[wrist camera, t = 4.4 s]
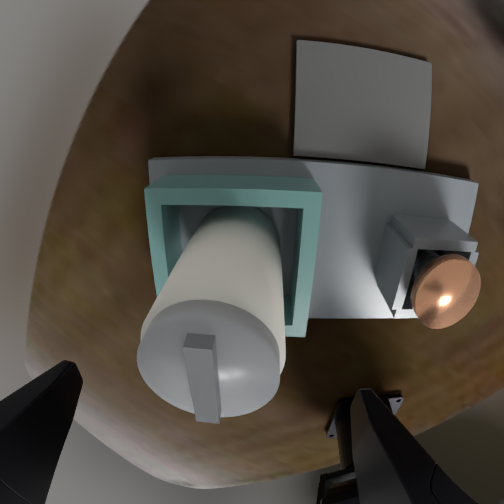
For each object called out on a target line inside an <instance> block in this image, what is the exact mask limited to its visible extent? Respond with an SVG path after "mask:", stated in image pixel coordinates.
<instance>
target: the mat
mask: <svg viewBox="0 0 504 504" xmlns="http://www.w3.org/2000/svg"><path fill="white" fill-rule="evenodd" d="M431 91H432V63H429V62H425V61H422V60H418V59H414V58H410V57H406V56H402V55H398V54H393V53H388V52H384V51H379V50H373V49H368V48H362V47H356V46H350V45H343V44H335V43H327V42H317V41H306V40H297V41H296V88H295V121H294V146H293V155H294V156H308V157H323V158H335V159H346V160H357V161H366V162H375V163H384V164H392V165H399V166H406V167H413V168H420V169H425V166H426V158H427V149H428V139H429V127H430V113H431Z"/></svg>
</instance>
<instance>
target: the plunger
mask: <svg viewBox="0 0 504 504" xmlns="http://www.w3.org/2000/svg"><path fill="white" fill-rule="evenodd" d="M411 278H412V279H413V281H414V284H413V287H412V291H411V297H410V298H411V306H412V309H413V310H414V312H415V314H416V316H417V317H418V319H419V321H420V322H421V323H422V324H423V325H424V326H426V327H429V328H433V329H440V328H445V327H448V326H451V325H453V324H455V323H456V322H458V321H459V320H461V319H462V318H463V317H464V316H465V315H466V314H467V313H468V312H469V311H470V310H471V308H472V307H473V305H474V304H475V302H476V300H477V298H478V295H479V292H480V287H481V278H480V274H479V272H478V270H477V268H476V267H475V266H474V265H473V264H472V263H471V262H470V261H469V260H468V259H467V258H465V257H464V256H462V255H459V254H446V255H443V256H441V255H440V254H439V253H438V252H437V251H436V250H427V249H418V251H417V255H416V259H415V263H414V267H413V271H412V275H411Z"/></svg>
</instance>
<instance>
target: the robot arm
mask: <svg viewBox="0 0 504 504" xmlns="http://www.w3.org/2000/svg"><path fill="white" fill-rule="evenodd" d="M82 385H83V379H82V376H81V374H80V372H79V370H78V368H77V365H76V364H75V363H74V362H71V361H67V360H64V361H62V362H60V363H59V364H57V365H55V366H54V367H52V368H51V369H49V370H48V371H46V372H44V373H43V374H41V375H40V376H38V377H37V378H35V379H34V380H32V381H30V382H29V383H28V384H26V385H24V386H23V387H21V388H20V389H18V390H17V391H15V392H13V393H12V394H10V395H9V396H7V397H6V398H4V399H3V400H1V401H0V504H45V501H46V498H47V495H48V492H49V488H50V485H51V482H52V478H53V475H54V472H55V469H56V466H57V463H58V460H59V457H60V454H61V451H62V449H63V446H64V443H65V440H66V437H67V435H68V432H69V429H70V427H71V424H72V421H73V418H74V414H75V410H76V406H77V403H78V399H79V396H80V392H81V389H82ZM402 401H403V396H402V395H401V394H398V395H388V396H377V395H376V394H375V393H374V391H373V390H372V389H369V388H368V389H358V390H357V392H356V394H355V397H354V398H345V399H340V400H339V401H338V402H337V405H336V408H335V411H334V414H333V416H332V419H331V422H330V425H329V427H328V430H327V433H326V435H327V438H337V439H338V447H339V455H340V463H341V470H339V471H335V472H332V473H329V474H327V473H326V474H321V476H320V482H319V488H318V497H317V504H478V503H477V502H476V501H475V500H474V499H472V498H471V497H470V496H469V495H468V494H467V493H466V492H464V491H463V490H462V489H461V488H460V487H459V486H458V485H457V484H455V482H454V481H453V480H452V479H451V478H450V477H449V476H448V475H447V474H446V473H445V472H444V471H443V470H442V469H441V467H440V466H439V465H438V464H436V462H435V461H434V460H433V458H432V457H431V456H430V455H429V454H428V453H427V452H426V450H425V449H424V448H423V447H422V446H421V445H420V444H419V443H418V441H417V440H416V439H415V438H414V437H413V436H412V435H411V433H410V432H409V431H408V430H407V429H406V428H405V427H404V425H403V424H402V423H401V422H400V421H399V420H398V419H397V418H396V416H395V414H396V412H397V410H398V409H399V407H400V405H401V403H402Z"/></svg>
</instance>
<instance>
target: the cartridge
mask: <svg viewBox="0 0 504 504" xmlns="http://www.w3.org/2000/svg"><path fill="white" fill-rule="evenodd" d="M285 360H286V345H285V321H284V300H283V280H282V262H281V245H280V237H279V233H278V231H277V229H276V226H275V225H274V223H273V222H272V221H271V220H270V218H269V217H268V216H267V215H265V214H264V213H263V212H261V211H260V210H258V209H256V208H254V207H251V206H220V207H218V208H216V209H214V210H212V211H211V212H209V213H208V214H207V215H206V216H205V217H204V218H203V219H202V221H201V222H200V224H199V225H198V227H197V229H196V230H195V232H194V234H193V235H192V237H191V239H190V240H189V242H188V244H187V246H186V247H185V249H184V251H183V252H182V254H181V256H180V258H179V259H178V261H177V263H176V265H175V266H174V268H173V270H172V272H171V273H170V275H169V277H168V279H167V281H166V282H165V284H164V286H163V288H162V290H161V291H160V293H159V295H158V297H157V299H156V300H155V302H154V304H153V306H152V308H151V310H150V312H149V313H148V315H147V317H146V319H145V321H144V323H143V326H142V330H141V342H140V345H139V347H138V351H137V364H138V369H139V371H140V374H141V376H142V377H143V379H144V381H145V382H146V383H147V385H148V386H149V387H150V388H151V389H152V390H153V391H154V392H155V393H156V394H157V395H158V396H159V397H161V398H162V399H164V400H165V401H167V402H168V403H170V404H172V405H174V406H176V407H178V408H180V409H182V410H185V411H188V412H191V413H194V414H195V417H196V421H200V422H209V423H219V424H220V418H221V417H233V416H239V415H244V414H247V413H250V412H253V411H255V410H257V409H259V408H261V407H263V406H264V405H265V404H267V403H268V402H269V401H270V400H271V399H272V398H273V396H274V395H275V394H276V392H277V389H278V387H279V383H280V374H281V372H282V370H283V368H284V364H285Z"/></svg>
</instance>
